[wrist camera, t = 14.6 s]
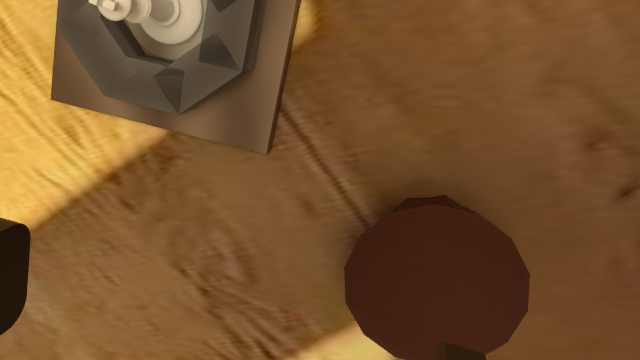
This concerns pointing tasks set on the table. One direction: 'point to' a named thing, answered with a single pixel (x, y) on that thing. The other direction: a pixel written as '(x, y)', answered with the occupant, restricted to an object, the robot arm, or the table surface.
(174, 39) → the chess piece
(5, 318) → the robot arm
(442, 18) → the table surface
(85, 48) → the collar socket
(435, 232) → the muffin
